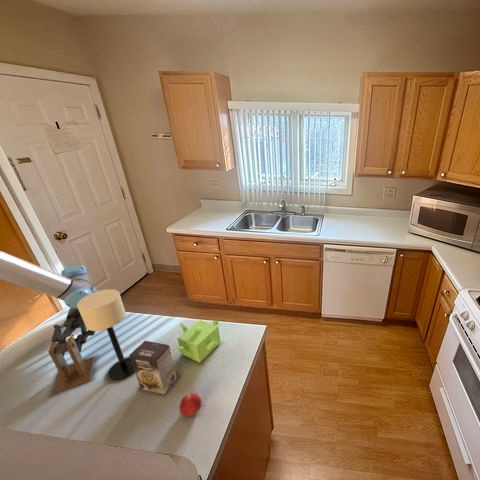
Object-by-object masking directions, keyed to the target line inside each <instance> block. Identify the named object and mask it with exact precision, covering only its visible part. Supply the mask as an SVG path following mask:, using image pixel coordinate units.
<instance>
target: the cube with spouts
mask: <svg viewBox="0 0 480 480" xmlns="http://www.w3.org/2000/svg"><path fill="white" fill-rule="evenodd" d="M218 325H219V321H218V320H215V319H214V320H213V322H212V323H210V322H207V321H205V320H202V319H199V320H198V321H197V322H195V323H194V324H193V325H192V326H190V327H189V328H188V327H187V326H186V325H185V324H184V323H179V324H178V326H179V327H180V328H181V329H182V331H183V333H182V334H181V335H179V336H178V337H177V342H178V347H177V348H175V349H174V352H175V353H176V352H180V354H181V355H182V356H184V357H186V358H189V359H191V360H192V361H195V362H197V363H201V362H202V361H203V360H204V359H205V358H206V357H207V356H209V354H210V353H211V352H212V351H214V349H216V347H218V346H219V344H221V336H220V330H219V326H218Z"/></svg>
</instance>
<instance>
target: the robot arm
mask: <svg viewBox="0 0 480 480" xmlns="http://www.w3.org/2000/svg"><path fill="white" fill-rule="evenodd" d="M88 273H89V272H88V271H87V269H86V266H84V265H81V264H75V265H70V266H67V267H65V268H63V269H62V270H61V272H60V274H59V273H57V272H55V271H51V270H50V269H47V268H44V267H42V266H40V265H37V264H34V263H33V262H32V263H31V262H29V261H27V260H25V259H21V258H19V257H18V256H15V255H13V254H10V253H7V252H5V251H2V250H0V280H3V281H6V282H8V283H11V284H15V285H17V286H20V287H22V288H23V287H24V288H26V289H29V290H32V291H35V292H38V293H40V294H44V295H47V296H50V297H52V298H55V299H58V300H61V301H63V302H64V304H65V305H66V307H68V308H69V309H68V311H67V315H66V317H65V320H64V321H63V322H62V324H55V325H53V326H52V327H53V334H52V337H51V343H52V342H55V341H56V342H57V344H58V345H59V344H63V343H65V339H66V338H67V337H68V336H70V335H73V333H74V332H75V330H77V329H80V334H78V335H77V336H78V338H77V342H76V345H77V347H78V349H79V352H80V353H81V352H82V347H83V345H84V344H86V343H87V340H88V338H89V337H92V336H94V335H95V334H96V331H91V330H88V329H87V328H86V326H85V324H84V321H83V319H82V317H81V314H80V312H79V309H78V307H77V303H78V302H79V301H80V300H81V299H82V298H83V297H85V296H87V295H89V294H91V293H94V292H97V291H98V290H97V289H96V288H95V287H94V286H93V284H92V282H91V279H90V276H89V274H88ZM64 328H65V329H64ZM63 329H64V330H63ZM62 331H63V332H62ZM62 354H63V356H64V357H65V354H66V352H64V353H62Z"/></svg>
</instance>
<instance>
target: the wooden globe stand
mask: <svg viewBox="0 0 480 480" xmlns="http://www.w3.org/2000/svg"><path fill="white" fill-rule="evenodd" d="M57 346H58V344H57V342H56V341H55V342H52V341H51V344H50V347H49V348H48V354H49V356H50V358H51V360H52V362H53V363H54V366H55V367H56V370H57V371H58V373H59V374H58V377H57V380H56V383H55V386H54V390H53V393H52V394H53V395H54V394H58V393H60V392H63V391H65V390H68V389H72V388H74V387H77V386H79V385H82V384H85V383H88V382H91V380H92V376H93V370H94V365H95V359H96V357H95V356H92V357H89V358H86V359H84V358H83V356H82V354H81V352H79V349H78V347H77V345H76V343H75V341H74V338H73V337H70V338H69V339H68V342H67V345H66V348H67V350H68V351H67V352H68V355H69V356H70V358H71V360H72V362H73V363H71V364H68V362H67V360H66V358H65V355H64V356H63V354H62V353H61V354H57V350H56V347H57Z"/></svg>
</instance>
